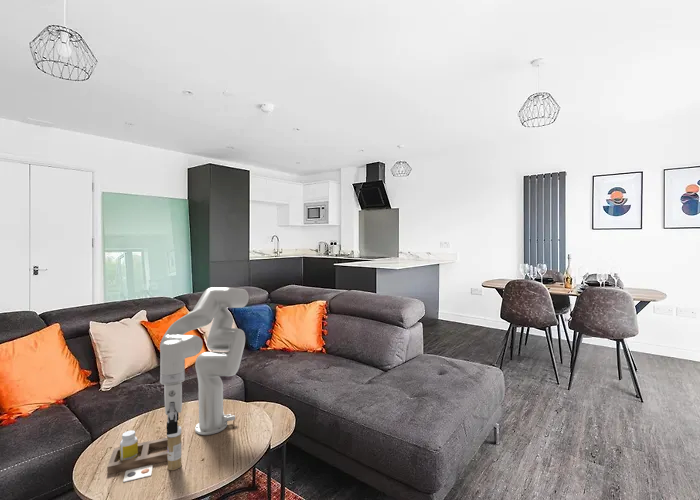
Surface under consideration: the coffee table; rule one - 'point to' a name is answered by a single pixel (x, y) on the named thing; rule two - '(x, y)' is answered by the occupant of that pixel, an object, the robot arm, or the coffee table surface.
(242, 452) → the coffee table surface
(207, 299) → the robot arm
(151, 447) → the bottle rack
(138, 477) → the card
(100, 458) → the coffee table surface
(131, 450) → the supplement bottle
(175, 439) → the sprinkles bottle
